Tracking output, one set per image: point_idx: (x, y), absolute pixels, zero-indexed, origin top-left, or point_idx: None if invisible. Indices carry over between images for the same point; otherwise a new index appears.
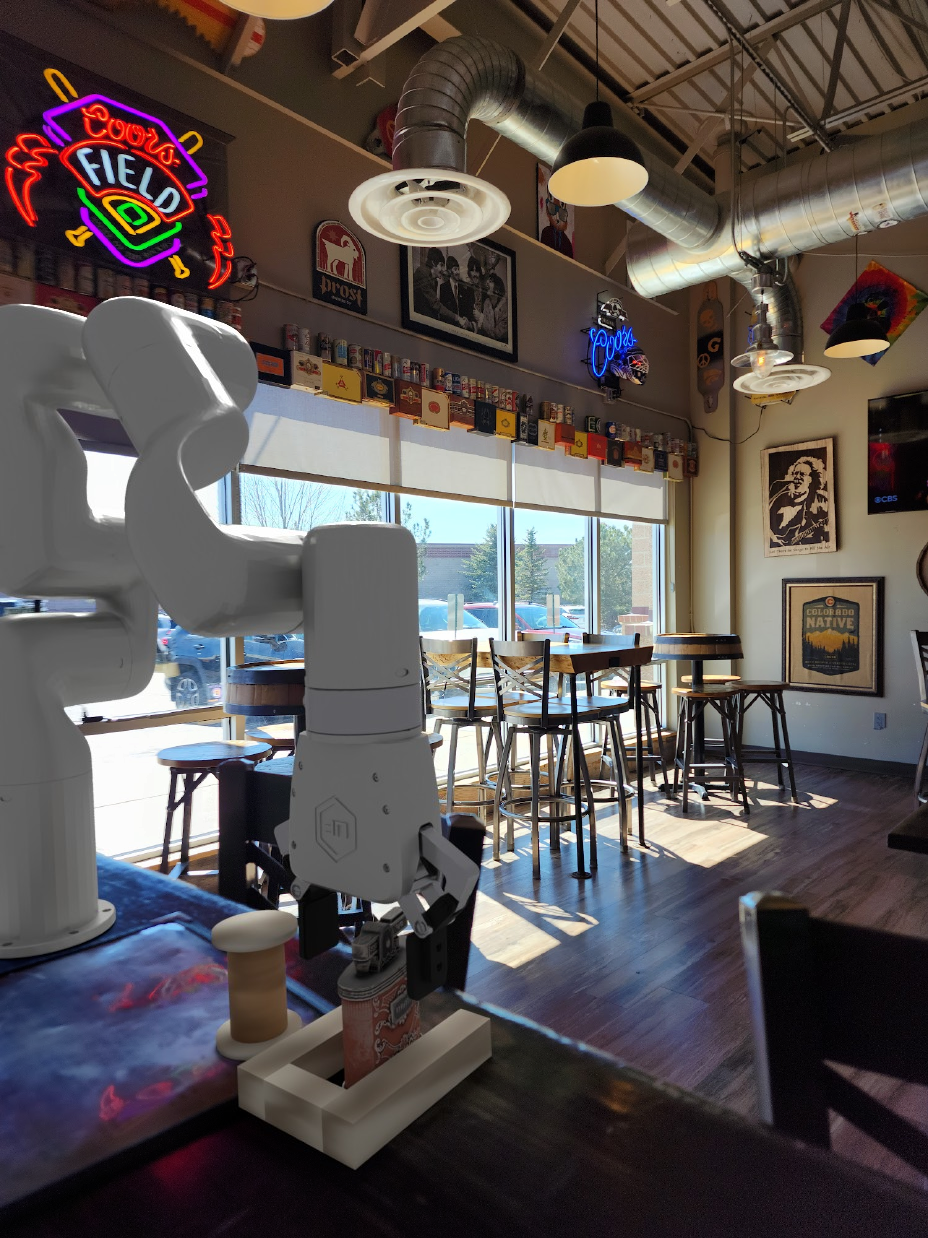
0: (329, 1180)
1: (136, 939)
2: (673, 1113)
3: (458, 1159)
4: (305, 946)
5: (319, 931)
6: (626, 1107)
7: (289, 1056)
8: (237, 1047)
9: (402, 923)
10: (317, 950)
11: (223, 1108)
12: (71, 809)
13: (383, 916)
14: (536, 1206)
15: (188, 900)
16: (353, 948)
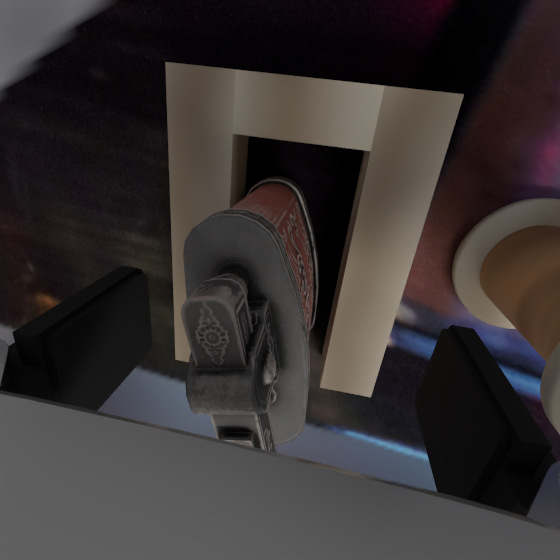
0: (209, 37)
1: None
2: (6, 308)
3: (110, 157)
4: (461, 344)
5: (446, 395)
6: (39, 302)
7: (383, 168)
8: (538, 211)
9: None
10: (436, 357)
11: (466, 86)
12: None
13: None
14: (6, 131)
15: None
16: (218, 292)
